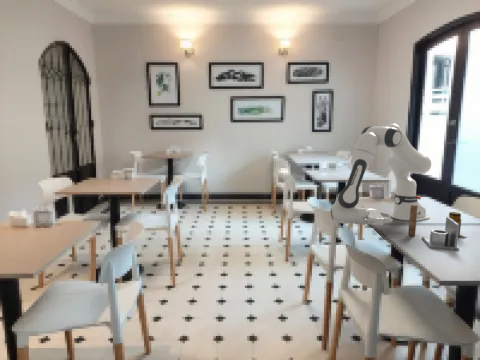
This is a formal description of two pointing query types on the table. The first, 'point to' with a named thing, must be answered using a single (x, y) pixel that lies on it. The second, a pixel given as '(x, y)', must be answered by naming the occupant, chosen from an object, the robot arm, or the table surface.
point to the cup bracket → (444, 236)
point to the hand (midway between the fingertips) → (390, 217)
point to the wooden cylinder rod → (412, 220)
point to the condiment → (457, 219)
